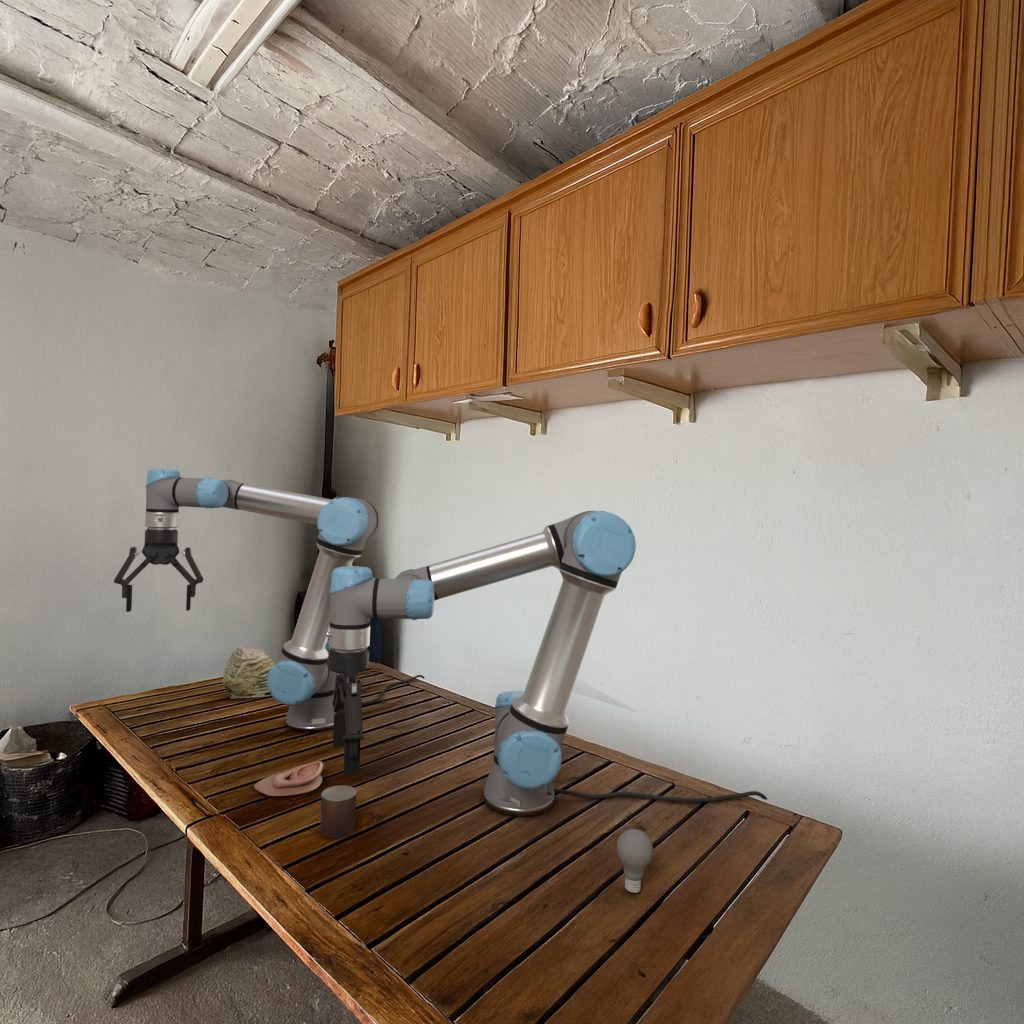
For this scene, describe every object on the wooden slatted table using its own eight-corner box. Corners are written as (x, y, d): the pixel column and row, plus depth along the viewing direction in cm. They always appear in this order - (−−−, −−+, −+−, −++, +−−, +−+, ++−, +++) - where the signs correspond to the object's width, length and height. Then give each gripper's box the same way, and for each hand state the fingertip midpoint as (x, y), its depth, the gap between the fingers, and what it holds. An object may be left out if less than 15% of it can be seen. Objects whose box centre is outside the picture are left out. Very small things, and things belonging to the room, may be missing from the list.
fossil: (218, 695, 195) (220, 647, 195) (278, 685, 208) (279, 640, 207) (228, 703, 189) (230, 653, 188) (289, 692, 201) (290, 645, 201)
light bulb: (610, 879, 108) (613, 822, 108) (644, 879, 109) (647, 822, 109) (619, 902, 102) (622, 840, 102) (655, 901, 103) (658, 840, 103)
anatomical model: (246, 773, 134) (276, 753, 145) (245, 792, 134) (276, 770, 145) (303, 782, 131) (330, 760, 142) (302, 801, 131) (329, 777, 142)
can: (316, 826, 122) (317, 789, 122) (348, 818, 125) (350, 782, 125) (325, 842, 117) (327, 803, 116) (359, 833, 120) (361, 796, 120)
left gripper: (102, 528, 156) (99, 614, 156) (213, 530, 165) (210, 611, 165) (109, 526, 163) (106, 608, 163) (215, 528, 172) (213, 606, 172)
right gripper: (320, 635, 130) (317, 738, 130) (338, 666, 107) (334, 790, 108) (357, 633, 133) (354, 733, 133) (382, 663, 110) (378, 784, 111)
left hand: (158, 610), depth 164 cm, fingers open, 13 cm apart
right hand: (345, 759), depth 120 cm, fingers open, 13 cm apart
